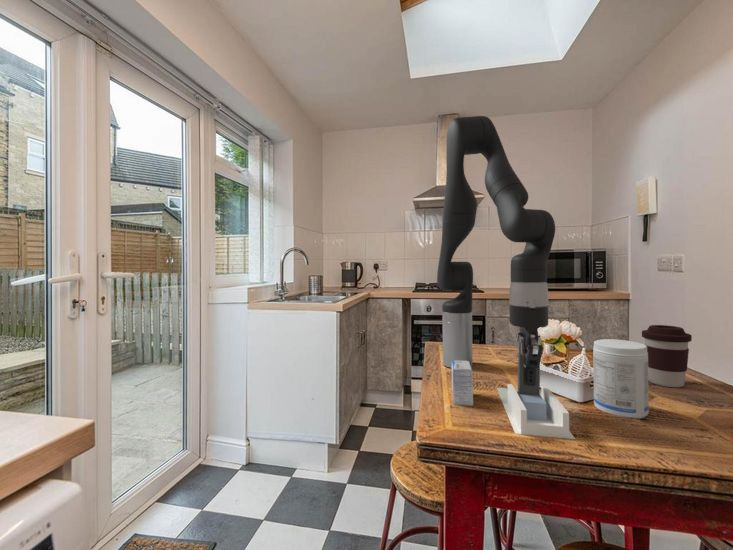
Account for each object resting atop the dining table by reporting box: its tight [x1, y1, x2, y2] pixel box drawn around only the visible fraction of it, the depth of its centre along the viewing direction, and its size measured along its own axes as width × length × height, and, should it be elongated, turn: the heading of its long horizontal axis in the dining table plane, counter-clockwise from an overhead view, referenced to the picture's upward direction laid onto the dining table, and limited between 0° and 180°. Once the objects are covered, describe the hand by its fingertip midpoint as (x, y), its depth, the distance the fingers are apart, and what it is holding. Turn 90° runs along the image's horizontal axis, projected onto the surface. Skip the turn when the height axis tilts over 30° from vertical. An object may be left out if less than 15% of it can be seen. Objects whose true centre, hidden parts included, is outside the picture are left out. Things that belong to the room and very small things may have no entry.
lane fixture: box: [496, 383, 576, 440], centre depth 75 cm, size 25×10×5 cm, turn 167°
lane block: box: [517, 352, 546, 421], centre depth 72 cm, size 6×4×12 cm
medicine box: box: [450, 360, 474, 406], centre depth 81 cm, size 8×4×9 cm, turn 168°
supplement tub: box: [592, 338, 649, 420], centre depth 74 cm, size 10×10×15 cm
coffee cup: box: [641, 324, 693, 388], centre depth 91 cm, size 10×10×15 cm
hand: (528, 383), depth 74 cm, fingers closed on lane block, 1 cm apart
